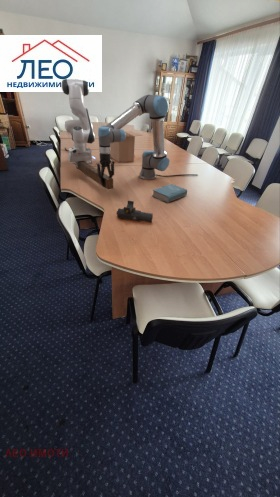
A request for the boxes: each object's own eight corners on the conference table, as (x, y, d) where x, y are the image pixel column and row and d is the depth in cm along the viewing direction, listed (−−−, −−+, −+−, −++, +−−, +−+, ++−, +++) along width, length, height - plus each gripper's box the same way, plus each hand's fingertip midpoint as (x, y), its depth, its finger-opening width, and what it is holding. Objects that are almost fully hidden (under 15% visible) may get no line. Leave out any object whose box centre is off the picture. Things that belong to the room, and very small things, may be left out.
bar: (113, 188, 162) (113, 178, 158) (107, 189, 160) (107, 179, 155) (81, 167, 197) (80, 159, 193) (76, 168, 195) (75, 159, 191)
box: (144, 162, 244) (146, 135, 228) (114, 165, 229) (114, 136, 213) (127, 152, 274) (128, 128, 258) (100, 154, 260) (99, 128, 243)
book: (170, 189, 184) (171, 183, 181) (186, 195, 175) (187, 189, 172) (152, 196, 171) (152, 189, 168) (168, 203, 162) (169, 196, 159)
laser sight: (150, 226, 134) (151, 211, 128) (114, 220, 137) (114, 205, 131) (152, 218, 142) (154, 204, 136) (119, 213, 144) (119, 199, 139)
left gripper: (89, 147, 190) (90, 163, 198) (66, 149, 179) (68, 166, 188) (92, 149, 186) (93, 165, 194) (69, 151, 175) (71, 168, 184)
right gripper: (113, 150, 157) (114, 182, 171) (90, 153, 148) (93, 186, 162) (119, 152, 152) (119, 185, 166) (95, 155, 144) (98, 189, 158)
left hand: (81, 166), depth 191 cm, fingers closed on bar, 5 cm apart
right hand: (106, 185), depth 164 cm, fingers closed on bar, 5 cm apart
